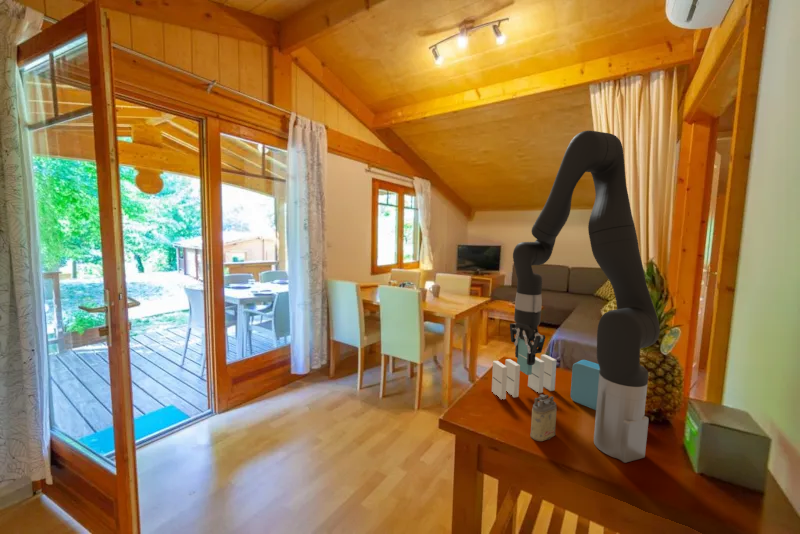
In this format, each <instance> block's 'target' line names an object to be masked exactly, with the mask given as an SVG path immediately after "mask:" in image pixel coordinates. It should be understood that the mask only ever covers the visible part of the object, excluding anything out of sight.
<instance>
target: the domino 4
mask: <svg viewBox="0 0 800 534" xmlns="http://www.w3.org/2000/svg"><path fill="white" fill-rule="evenodd" d="M544 366H545V362H544V361H542V360H541V358H539V357H537V356H535V363H534V365H532V374H531V375H527V376H528V379H527V387H529V388H530V389H531V390H534V392H536V393H537V392H538V393H537V394H542V393H544V387H543V382H544Z"/></svg>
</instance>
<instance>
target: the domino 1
mask: <svg viewBox="0 0 800 534" xmlns="http://www.w3.org/2000/svg"><path fill="white" fill-rule="evenodd" d="M491 375H492V377H491V378H492V379H491V393H492V392H493V393H492V394H494V395H495V396H496V395H497V396H498V397H499V398H498V397H497V396H496V397H497V398H498V399H500V400H502V399H503V400H506V399H507V397H506V396H507V392H506V383H507V366H505V364H503V363H502V362H501V361H499V360H493V361H492V372H491Z"/></svg>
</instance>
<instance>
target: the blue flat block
mask: <svg viewBox="0 0 800 534" xmlns="http://www.w3.org/2000/svg"><path fill="white" fill-rule="evenodd" d="M571 368H572V371H571V386H570V399H571V400H572V401H573V402H575V403H577V404H579V405H582V406H585V407H587V408H590V409H592V410H594V411H596V406H597V394H598V382H599V371H600V367H599V364H598V362H597V363H596V362H593V361H590V360H586V359H581V360H579V361H577V362H575V363H573V365H572V367H571Z"/></svg>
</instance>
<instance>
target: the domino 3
mask: <svg viewBox="0 0 800 534" xmlns="http://www.w3.org/2000/svg"><path fill="white" fill-rule="evenodd" d="M531 342H532V341H529V343H531ZM531 349H533V345H531ZM527 353H528V349H527V346H526V345H525V340H524V339H521V338H520V341H519V343H518V358H516V363H517V364H519V365H520V372H522V373H523V374H525V375H526V376H528V375H531V374H532V365H528V364H527Z"/></svg>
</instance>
